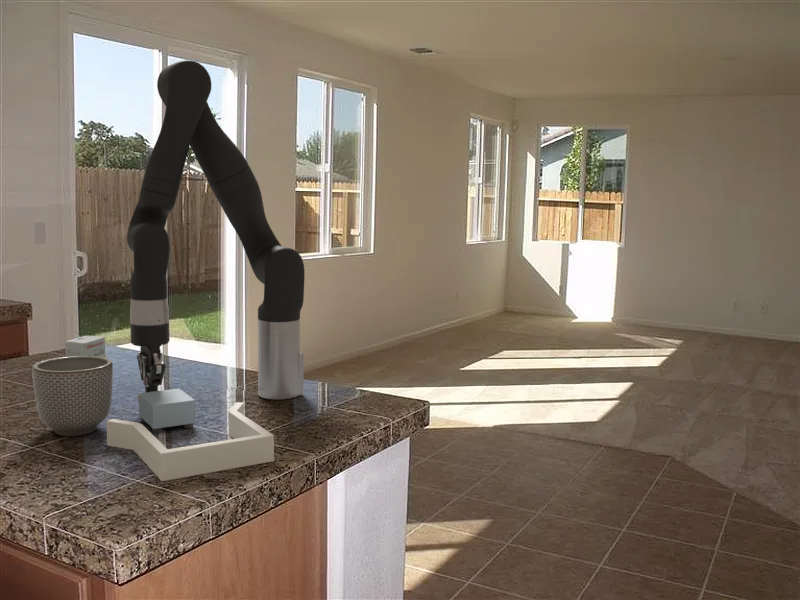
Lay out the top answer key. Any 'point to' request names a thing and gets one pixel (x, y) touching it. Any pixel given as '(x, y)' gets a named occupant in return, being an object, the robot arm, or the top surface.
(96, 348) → the ink box
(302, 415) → the top surface
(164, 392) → the light blue box
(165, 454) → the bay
